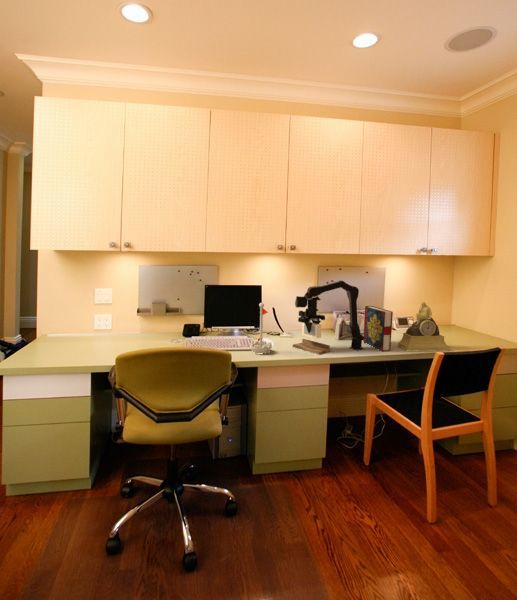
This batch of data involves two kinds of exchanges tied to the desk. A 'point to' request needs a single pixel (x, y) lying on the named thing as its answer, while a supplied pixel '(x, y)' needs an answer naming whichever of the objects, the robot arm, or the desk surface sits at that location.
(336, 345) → the desk surface
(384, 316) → the book
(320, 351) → the picture ledge
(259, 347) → the flag stand
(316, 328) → the picture frame
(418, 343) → the decorative clock
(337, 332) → the decorative sign
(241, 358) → the desk surface
